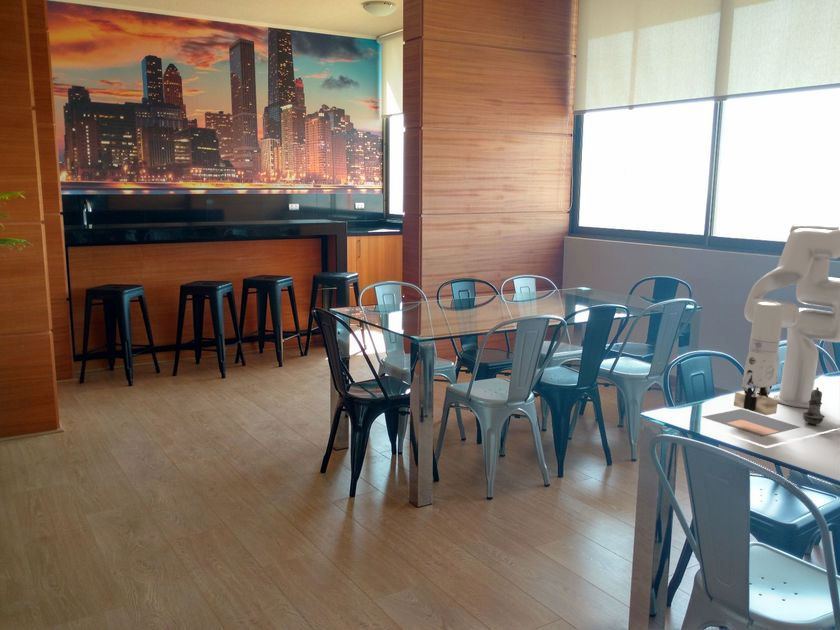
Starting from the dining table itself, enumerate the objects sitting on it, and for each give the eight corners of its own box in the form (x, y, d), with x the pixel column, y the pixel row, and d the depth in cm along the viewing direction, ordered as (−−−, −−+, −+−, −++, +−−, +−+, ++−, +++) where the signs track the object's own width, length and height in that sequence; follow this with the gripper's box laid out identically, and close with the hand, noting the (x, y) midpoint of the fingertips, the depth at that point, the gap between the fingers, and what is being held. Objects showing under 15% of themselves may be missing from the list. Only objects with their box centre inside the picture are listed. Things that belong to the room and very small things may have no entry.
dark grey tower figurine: (822, 425, 216) (828, 386, 214) (823, 431, 211) (830, 391, 209) (799, 422, 218) (805, 383, 216) (801, 427, 213) (807, 387, 211)
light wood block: (776, 413, 204) (778, 399, 204) (766, 415, 202) (768, 401, 201) (743, 403, 212) (745, 390, 212) (733, 405, 210) (735, 392, 209)
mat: (741, 410, 227) (741, 408, 226) (800, 429, 211) (800, 426, 211) (701, 418, 216) (701, 416, 215) (761, 438, 200) (761, 436, 200)
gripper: (759, 350, 196) (749, 415, 199) (793, 347, 206) (784, 408, 209) (733, 345, 202) (725, 408, 205) (768, 341, 212) (759, 401, 215)
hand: (755, 407), depth 207 cm, fingers closed on light wood block, 5 cm apart
